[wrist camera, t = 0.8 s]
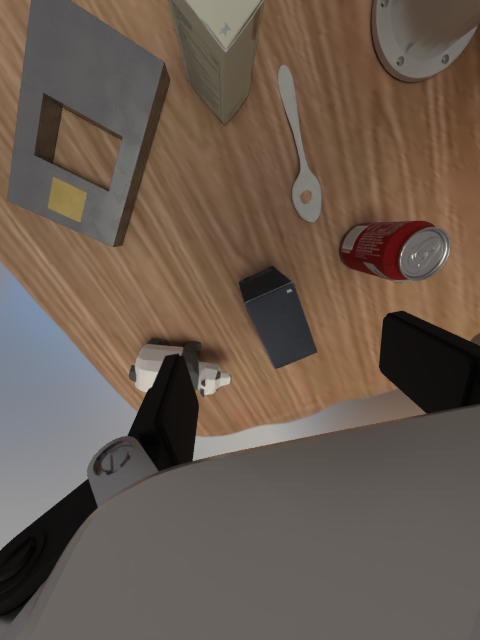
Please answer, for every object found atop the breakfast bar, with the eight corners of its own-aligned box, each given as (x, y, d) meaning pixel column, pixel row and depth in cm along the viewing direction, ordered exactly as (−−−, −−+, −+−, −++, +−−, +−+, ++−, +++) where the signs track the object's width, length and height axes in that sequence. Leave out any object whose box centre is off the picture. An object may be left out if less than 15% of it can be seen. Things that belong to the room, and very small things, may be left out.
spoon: (296, 227, 33) (299, 227, 32) (257, 40, 26) (260, 28, 24) (323, 218, 33) (328, 217, 32) (292, 27, 25) (297, 14, 24)
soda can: (329, 248, 34) (382, 257, 23) (365, 212, 33) (438, 204, 22) (354, 277, 37) (413, 298, 26) (389, 245, 35) (467, 253, 24)
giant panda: (143, 363, 39) (121, 402, 30) (143, 334, 37) (120, 367, 28) (227, 370, 41) (229, 408, 32) (231, 343, 39) (235, 376, 30)
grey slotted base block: (56, 6, 23) (33, -25, 20) (170, 80, 26) (164, 61, 23) (27, 203, 29) (6, 200, 26) (122, 245, 32) (112, 247, 29)
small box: (235, 282, 35) (241, 302, 26) (273, 264, 35) (294, 278, 25) (260, 336, 39) (273, 372, 30) (295, 321, 39) (320, 352, 29)
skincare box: (249, 96, 27) (271, -1, 16) (224, 127, 28) (228, 58, 17) (208, 41, 25) (200, -115, 14) (183, 77, 26) (155, -41, 15)
